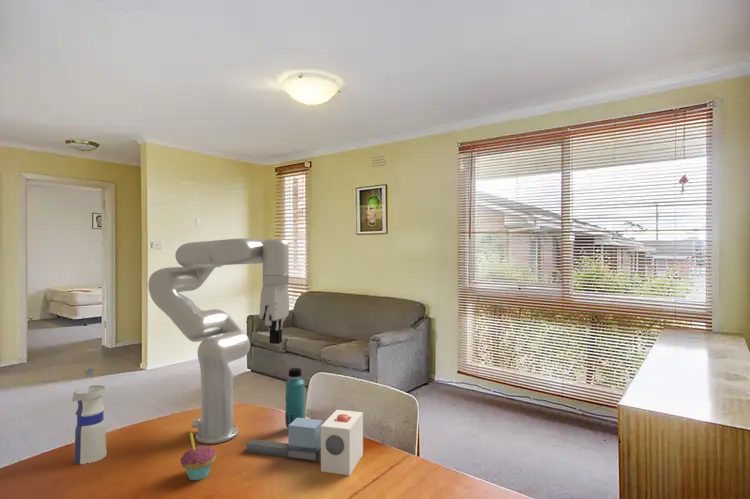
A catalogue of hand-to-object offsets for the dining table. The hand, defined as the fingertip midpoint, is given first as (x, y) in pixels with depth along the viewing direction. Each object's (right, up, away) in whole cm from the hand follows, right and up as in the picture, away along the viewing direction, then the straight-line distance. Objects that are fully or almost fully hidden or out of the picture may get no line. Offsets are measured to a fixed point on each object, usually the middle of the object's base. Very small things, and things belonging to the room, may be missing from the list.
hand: (275, 342), depth 127 cm
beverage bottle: (+3, -31, +13) cm, 34 cm away
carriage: (+10, -30, -6) cm, 32 cm away
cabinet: (+20, -31, -9) cm, 38 cm away
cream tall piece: (-51, -31, -6) cm, 60 cm away
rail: (+5, -31, -4) cm, 32 cm away
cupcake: (-17, -31, -15) cm, 39 cm away
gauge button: (+21, -25, -9) cm, 34 cm away
